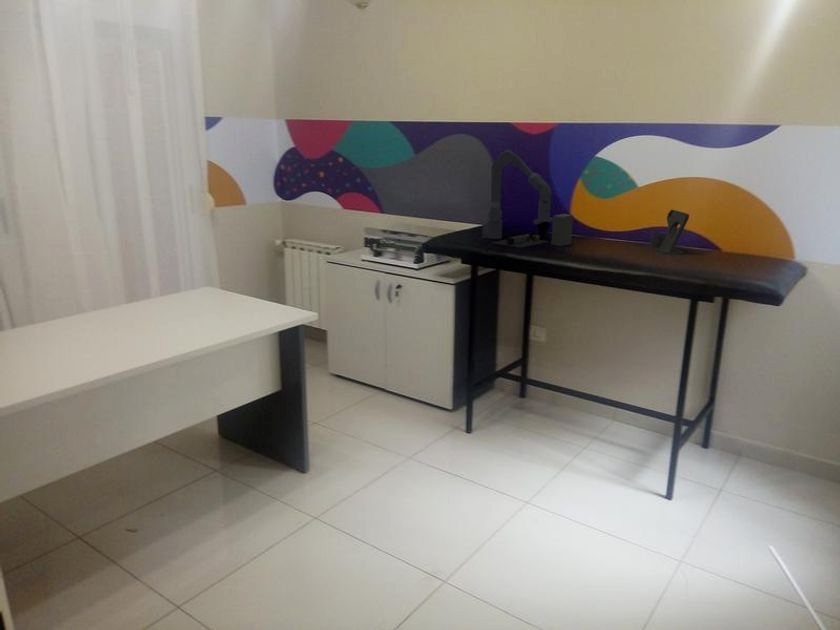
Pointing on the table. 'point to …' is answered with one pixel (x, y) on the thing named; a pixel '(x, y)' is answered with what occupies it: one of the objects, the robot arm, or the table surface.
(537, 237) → the block
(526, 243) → the mat
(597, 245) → the table surface
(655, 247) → the phone holder
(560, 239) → the skincare box
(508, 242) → the tongs fixed
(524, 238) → the bar
